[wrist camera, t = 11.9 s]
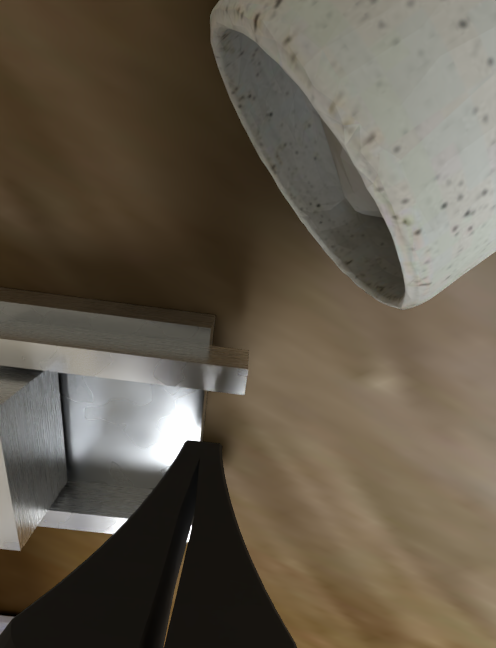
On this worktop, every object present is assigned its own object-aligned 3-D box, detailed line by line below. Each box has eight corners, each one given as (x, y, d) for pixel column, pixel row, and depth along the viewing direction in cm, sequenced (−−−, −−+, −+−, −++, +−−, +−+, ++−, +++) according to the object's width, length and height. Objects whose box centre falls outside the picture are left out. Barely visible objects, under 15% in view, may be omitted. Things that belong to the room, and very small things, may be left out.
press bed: (225, 496, 16) (220, 556, 14) (-158, 454, 16) (-246, 507, 13) (251, 319, 13) (251, 350, 10) (-238, 256, 12) (-383, 270, 10)
